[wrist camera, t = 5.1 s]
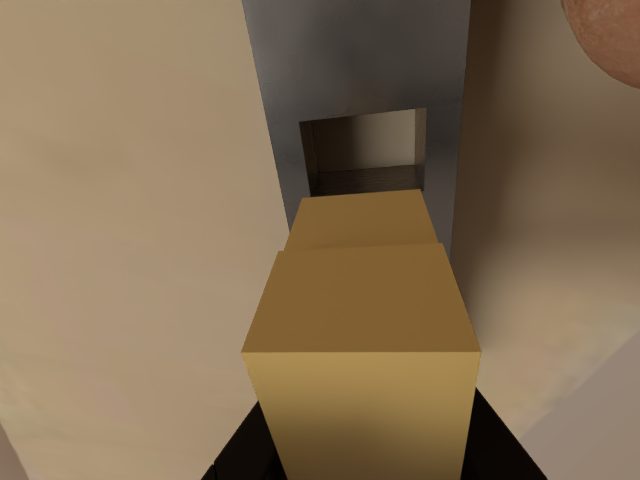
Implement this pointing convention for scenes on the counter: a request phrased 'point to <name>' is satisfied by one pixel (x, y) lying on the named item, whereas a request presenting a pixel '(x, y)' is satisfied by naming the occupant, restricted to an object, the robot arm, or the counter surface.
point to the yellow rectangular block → (364, 344)
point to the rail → (363, 90)
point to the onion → (608, 35)
